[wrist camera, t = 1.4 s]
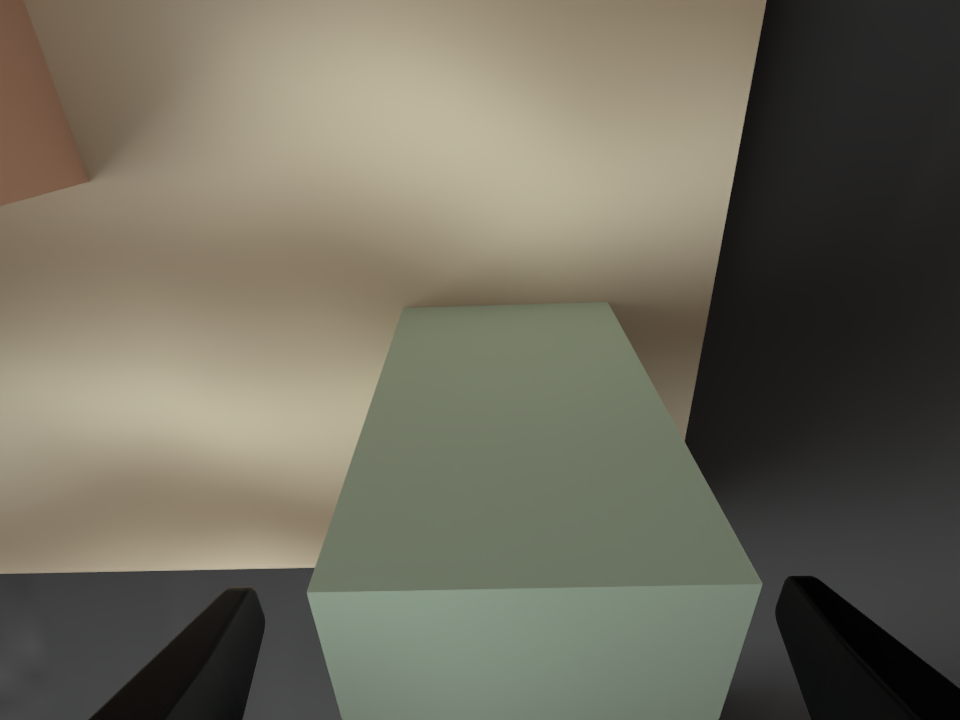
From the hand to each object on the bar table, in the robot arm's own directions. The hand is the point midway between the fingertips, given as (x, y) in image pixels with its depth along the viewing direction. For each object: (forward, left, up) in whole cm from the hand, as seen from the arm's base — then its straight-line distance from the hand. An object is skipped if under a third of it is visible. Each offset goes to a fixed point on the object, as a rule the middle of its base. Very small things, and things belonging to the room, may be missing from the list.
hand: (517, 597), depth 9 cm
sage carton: (0, 0, -4) cm, 4 cm away
